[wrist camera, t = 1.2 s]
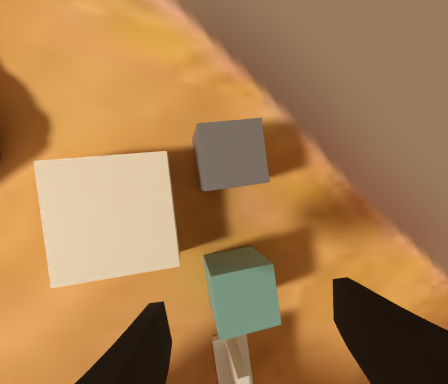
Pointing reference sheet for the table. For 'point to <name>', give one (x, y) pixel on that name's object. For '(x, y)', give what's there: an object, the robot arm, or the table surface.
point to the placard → (232, 360)
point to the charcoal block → (230, 154)
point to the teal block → (241, 292)
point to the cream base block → (107, 216)
